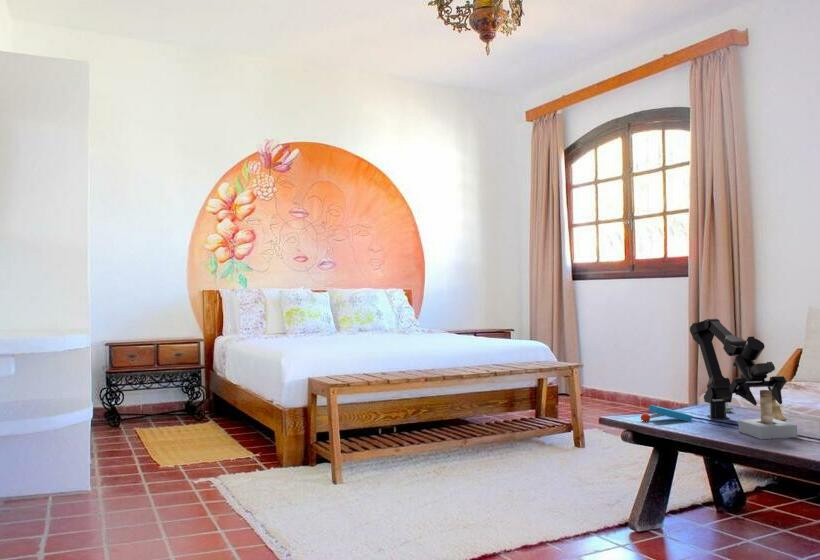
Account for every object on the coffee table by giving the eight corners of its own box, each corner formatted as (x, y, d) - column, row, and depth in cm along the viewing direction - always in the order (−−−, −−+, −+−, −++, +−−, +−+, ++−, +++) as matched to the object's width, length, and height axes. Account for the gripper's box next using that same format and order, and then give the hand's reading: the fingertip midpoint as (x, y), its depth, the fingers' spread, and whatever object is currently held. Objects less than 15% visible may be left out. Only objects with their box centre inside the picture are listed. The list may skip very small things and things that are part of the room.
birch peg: (759, 433, 239) (757, 390, 239) (766, 432, 240) (764, 389, 241) (768, 435, 236) (766, 391, 236) (775, 434, 237) (773, 390, 237)
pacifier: (719, 413, 279) (734, 413, 279) (718, 398, 280) (733, 397, 279) (713, 410, 287) (728, 410, 286) (712, 395, 287) (727, 394, 286)
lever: (680, 430, 271) (636, 419, 270) (684, 412, 271) (640, 402, 270) (688, 433, 264) (643, 422, 263) (692, 416, 265) (648, 404, 264)
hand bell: (760, 419, 264) (759, 377, 264) (763, 416, 271) (761, 375, 271) (785, 421, 259) (783, 378, 259) (787, 417, 266) (785, 376, 266)
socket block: (738, 431, 244) (738, 420, 244) (773, 429, 245) (772, 418, 245) (761, 439, 231) (760, 427, 231) (797, 437, 232) (797, 425, 232)
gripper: (732, 355, 241) (752, 391, 230) (782, 353, 243) (804, 388, 232) (720, 375, 249) (739, 410, 238) (769, 372, 251) (790, 408, 240)
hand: (768, 404), depth 237 cm, fingers open, 9 cm apart
